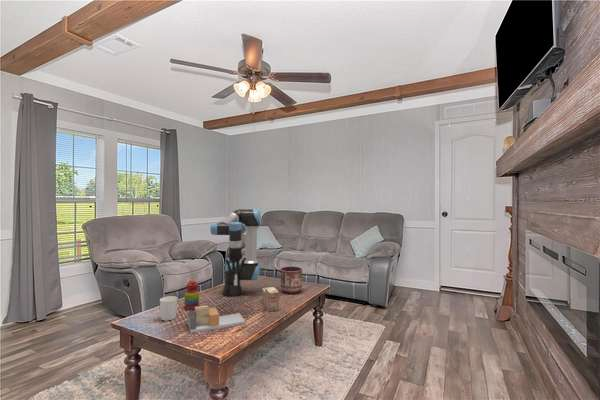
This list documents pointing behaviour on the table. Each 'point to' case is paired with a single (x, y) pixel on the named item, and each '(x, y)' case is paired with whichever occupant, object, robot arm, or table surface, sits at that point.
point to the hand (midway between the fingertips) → (235, 284)
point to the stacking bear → (191, 296)
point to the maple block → (202, 315)
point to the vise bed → (223, 322)
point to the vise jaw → (213, 317)
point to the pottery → (291, 279)
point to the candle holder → (168, 308)
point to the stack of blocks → (270, 298)
